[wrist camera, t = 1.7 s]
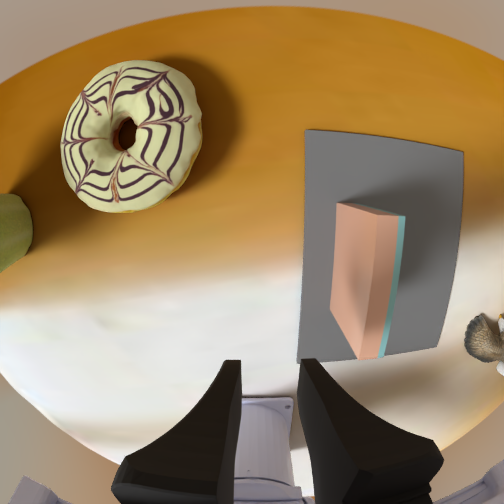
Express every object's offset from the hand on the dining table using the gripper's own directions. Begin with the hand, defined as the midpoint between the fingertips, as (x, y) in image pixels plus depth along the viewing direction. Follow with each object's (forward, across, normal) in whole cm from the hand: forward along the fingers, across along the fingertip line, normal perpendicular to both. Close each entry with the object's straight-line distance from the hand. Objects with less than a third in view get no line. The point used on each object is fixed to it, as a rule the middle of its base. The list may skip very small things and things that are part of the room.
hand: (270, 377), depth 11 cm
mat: (+10, -10, -2) cm, 15 cm away
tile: (+10, -6, -2) cm, 12 cm away
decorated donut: (+11, +9, -11) cm, 18 cm away
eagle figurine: (+11, -26, +7) cm, 29 cm away
